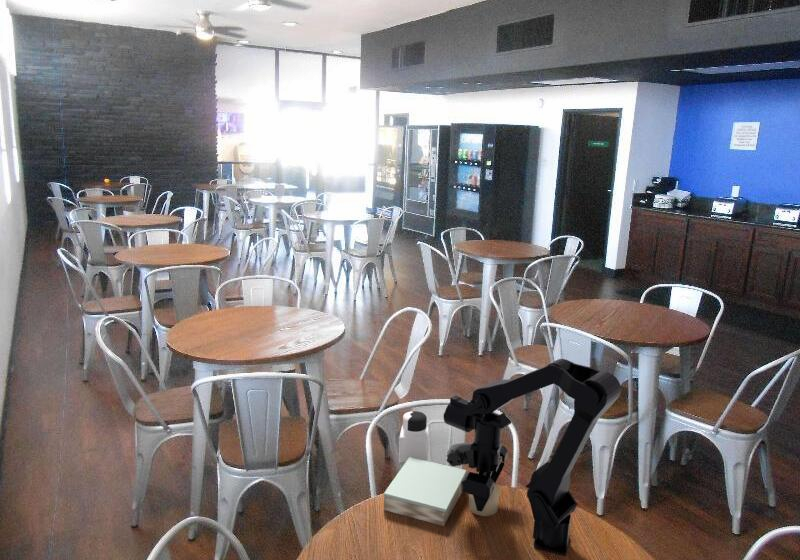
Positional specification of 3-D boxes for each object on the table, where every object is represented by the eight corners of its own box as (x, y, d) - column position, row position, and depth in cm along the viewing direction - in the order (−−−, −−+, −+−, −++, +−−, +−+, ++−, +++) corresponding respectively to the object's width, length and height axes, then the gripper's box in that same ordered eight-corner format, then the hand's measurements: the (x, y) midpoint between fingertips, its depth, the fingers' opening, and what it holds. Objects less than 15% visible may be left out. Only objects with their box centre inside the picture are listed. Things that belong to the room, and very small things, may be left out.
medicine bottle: (428, 451, 157) (429, 409, 154) (426, 465, 150) (428, 421, 147) (401, 449, 157) (402, 407, 155) (398, 463, 150) (399, 419, 148)
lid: (466, 473, 140) (466, 470, 139) (446, 512, 126) (446, 509, 125) (409, 459, 145) (409, 457, 145) (383, 496, 131) (383, 493, 131)
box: (464, 487, 141) (465, 475, 140) (443, 526, 126) (444, 513, 125) (409, 473, 146) (410, 462, 145) (383, 509, 131) (384, 497, 130)
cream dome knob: (500, 503, 135) (501, 483, 134) (493, 519, 129) (495, 498, 128) (472, 496, 137) (474, 476, 136) (465, 511, 131) (466, 491, 130)
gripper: (463, 414, 141) (460, 473, 144) (438, 450, 124) (436, 516, 127) (510, 423, 136) (505, 484, 140) (491, 462, 120) (486, 530, 123)
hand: (483, 502), depth 133 cm, fingers closed on cream dome knob, 6 cm apart
